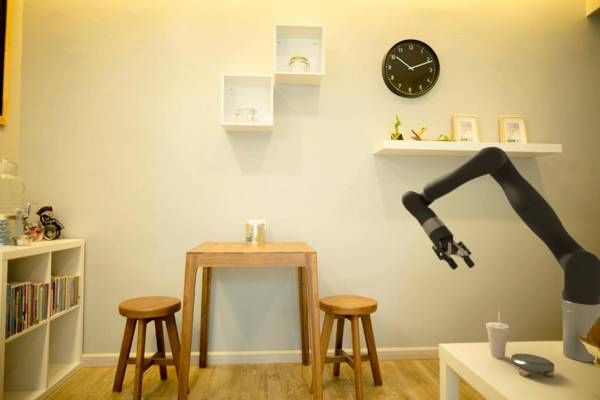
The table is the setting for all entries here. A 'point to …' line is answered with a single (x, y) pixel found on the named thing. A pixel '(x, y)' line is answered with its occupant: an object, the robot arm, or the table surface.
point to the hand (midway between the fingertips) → (464, 267)
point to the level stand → (533, 365)
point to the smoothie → (497, 338)
